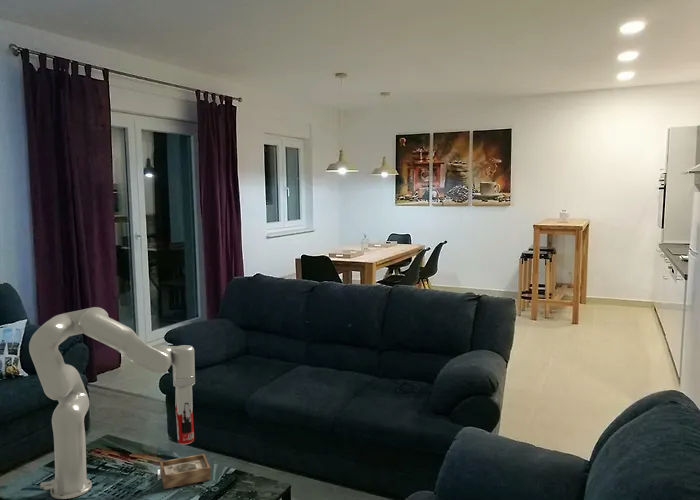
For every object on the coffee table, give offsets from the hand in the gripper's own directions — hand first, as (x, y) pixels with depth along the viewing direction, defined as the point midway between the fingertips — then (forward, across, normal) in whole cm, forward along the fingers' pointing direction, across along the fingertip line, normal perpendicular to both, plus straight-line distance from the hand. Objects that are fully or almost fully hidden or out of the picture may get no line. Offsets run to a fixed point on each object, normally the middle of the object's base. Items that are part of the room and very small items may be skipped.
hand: (185, 428), depth 195 cm
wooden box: (+18, 0, 0) cm, 18 cm away
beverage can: (+5, 0, 0) cm, 5 cm away
